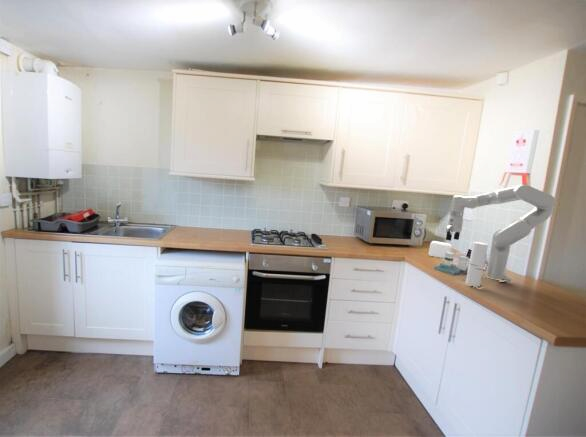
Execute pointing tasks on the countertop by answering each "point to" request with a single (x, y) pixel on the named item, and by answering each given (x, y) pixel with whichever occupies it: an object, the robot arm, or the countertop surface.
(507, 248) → the robot arm
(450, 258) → the fuse
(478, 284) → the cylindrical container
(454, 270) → the parts tray
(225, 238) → the countertop surface
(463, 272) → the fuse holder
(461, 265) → the fuse
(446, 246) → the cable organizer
